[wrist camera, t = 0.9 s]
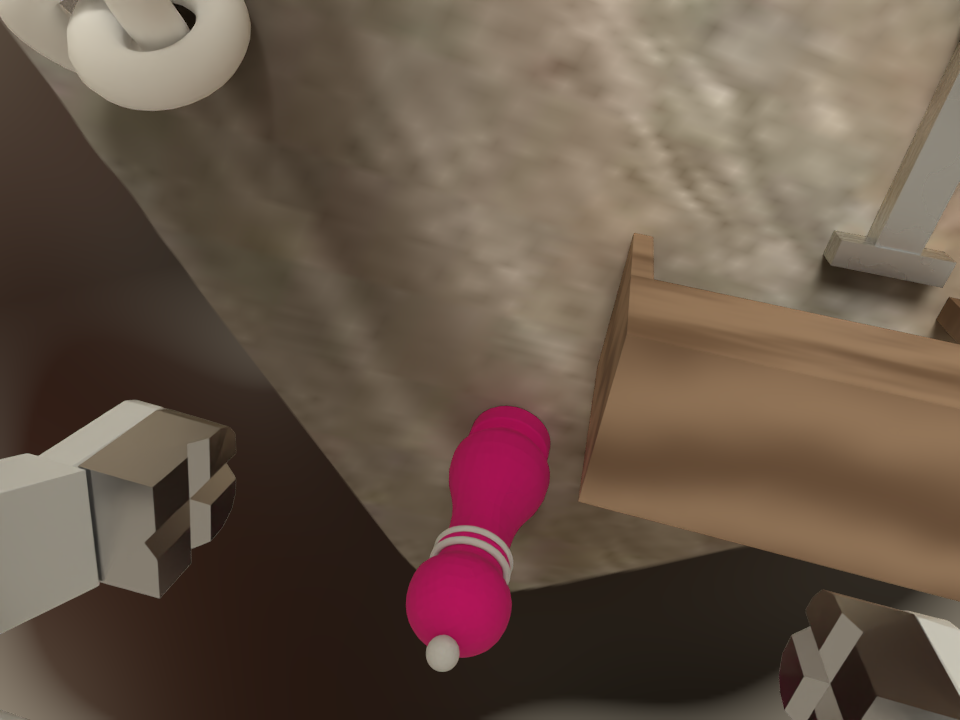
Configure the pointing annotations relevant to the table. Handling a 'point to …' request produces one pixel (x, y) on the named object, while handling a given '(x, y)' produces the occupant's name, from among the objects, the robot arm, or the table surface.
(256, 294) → the table surface
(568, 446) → the table surface
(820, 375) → the wooden bench
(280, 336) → the table surface
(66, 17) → the white knot
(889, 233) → the block
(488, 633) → the pepper mill
